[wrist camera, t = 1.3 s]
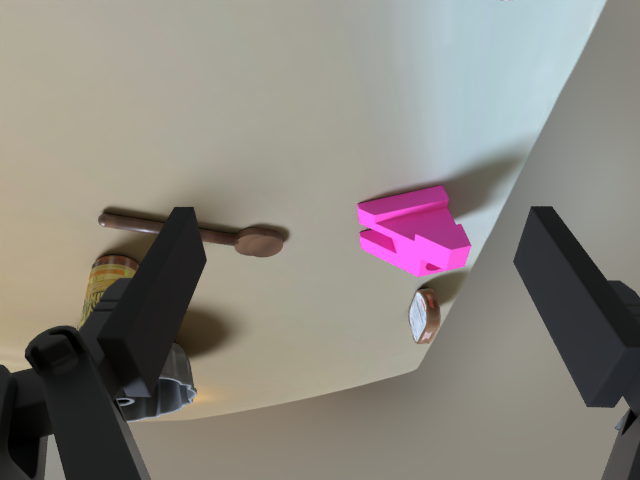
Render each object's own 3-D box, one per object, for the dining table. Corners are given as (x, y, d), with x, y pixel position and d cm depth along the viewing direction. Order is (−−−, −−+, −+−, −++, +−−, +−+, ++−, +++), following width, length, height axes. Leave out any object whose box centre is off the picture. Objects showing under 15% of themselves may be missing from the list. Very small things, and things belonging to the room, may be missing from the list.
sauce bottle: (123, 247, 56) (106, 398, 45) (149, 269, 61) (139, 409, 50) (79, 260, 56) (50, 412, 45) (108, 281, 62) (89, 422, 50)
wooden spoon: (96, 226, 52) (94, 237, 51) (101, 200, 48) (99, 210, 47) (273, 252, 63) (274, 261, 62) (287, 232, 60) (289, 241, 59)
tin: (417, 313, 92) (429, 349, 88) (403, 315, 92) (415, 351, 87) (431, 279, 80) (447, 319, 75) (416, 282, 80) (430, 322, 75)
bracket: (442, 184, 57) (471, 245, 51) (434, 228, 66) (458, 284, 60) (357, 203, 57) (376, 266, 51) (360, 244, 66) (377, 302, 60)
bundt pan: (27, 326, 68) (12, 387, 62) (196, 316, 75) (196, 370, 70) (66, 380, 88) (58, 430, 82) (196, 368, 96) (196, 413, 90)
